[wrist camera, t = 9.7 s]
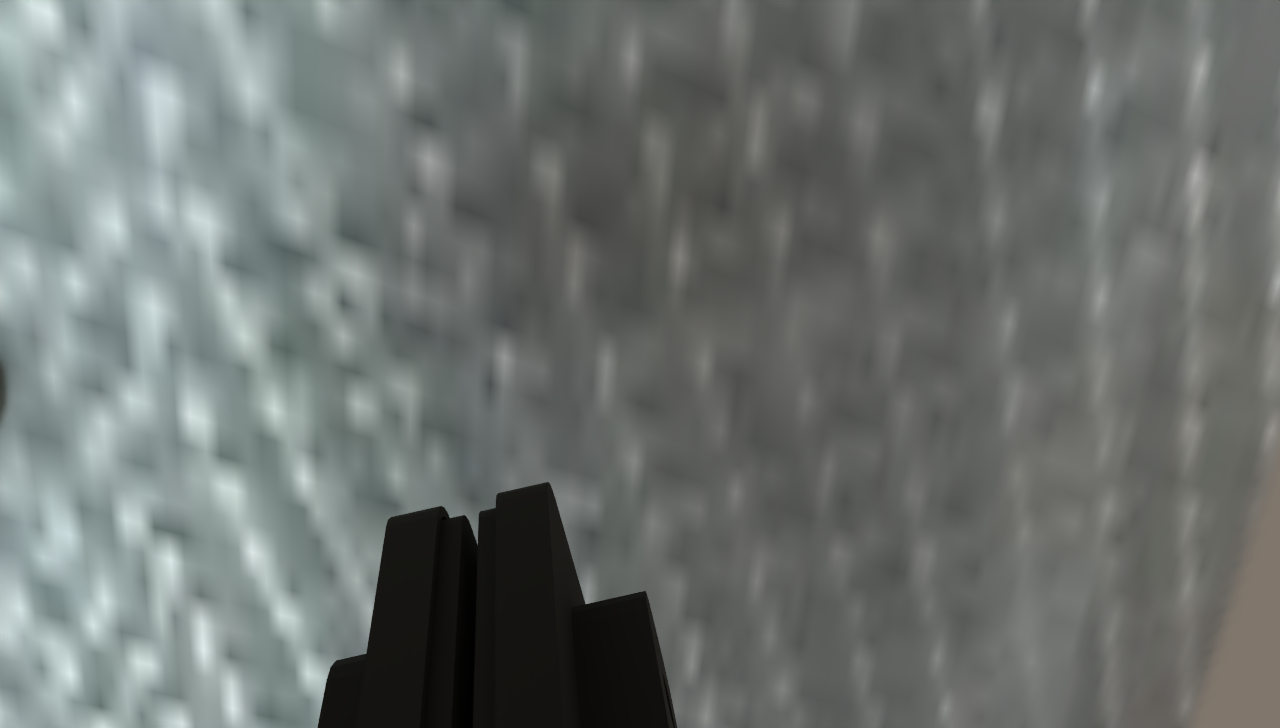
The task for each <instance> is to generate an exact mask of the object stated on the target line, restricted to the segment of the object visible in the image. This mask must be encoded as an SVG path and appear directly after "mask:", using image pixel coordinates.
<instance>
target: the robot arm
mask: <svg viewBox="0 0 1280 728" xmlns="http://www.w3.org/2000/svg"><path fill="white" fill-rule="evenodd" d="M318 728H677V724H676V719H675V714H674V709H673V704H672V699H671V694H670V690H669V685H668V680H667V676H666V671H665V667H664V662H663V658H662V653H661V649H660V645H659V641H658V637H657V633H656V629H655V624H654V620H653V616H652V612H651V608H650V604H649V600H648V597H647V593H646V591H643V592H638V593H634V594H630V595H625V596H621V597H616V598H612V599H607V600H603V601H598V602H594V603H590V604H585V601H584V598H583V594H582V591H581V587H580V584H579V580H578V577H577V573H576V570H575V566H574V563H573V559H572V556H571V552H570V549H569V545H568V542H567V538H566V535H565V531H564V528H563V524H562V521H561V517H560V514H559V510H558V507H557V503H556V500H555V496H554V493H553V490H552V488H551V485H550V483H549V482H546V483H542V484H537V485H533V486H528V487H524V488H520V489H515V490H511V491H506V492H502V493H498V494H497V496H496V508H494V509H490V510H485V511H481V512H480V513H479V527H478V545H477V543H476V540H475V537H474V534H473V531H472V528H471V525H470V523H469V520H468V519H467V517H466V516H465V515H463V516H458V517H454V518H450V517H449V515H448V513H447V511H446V510H445V508H444V507H442V506H439V507H435V508H430V509H426V510H421V511H417V512H413V513H408V514H404V515H399V516H395V517H391V518H390V519H388V522H387V525H386V531H385V538H384V544H383V551H382V557H381V564H380V570H379V577H378V583H377V590H376V596H375V603H374V609H373V616H372V622H371V628H370V635H369V641H368V648H367V654H363V655H359V656H355V657H350V658H346V659H341V660H337V661H336V662H335V663H334V664H333V665H332V667H331V668H330V672H329V675H328V678H327V682H326V687H325V692H324V697H323V702H322V708H321V713H320V718H319V723H318Z"/></svg>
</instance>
